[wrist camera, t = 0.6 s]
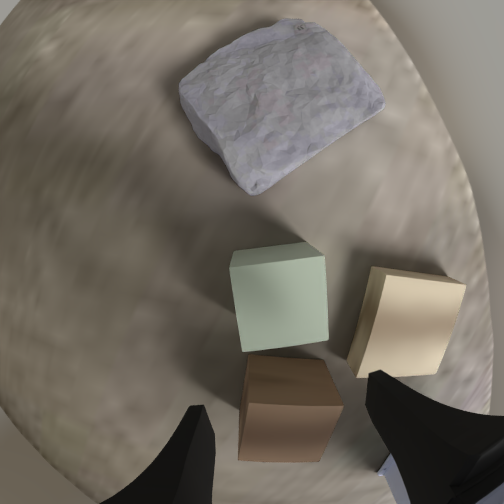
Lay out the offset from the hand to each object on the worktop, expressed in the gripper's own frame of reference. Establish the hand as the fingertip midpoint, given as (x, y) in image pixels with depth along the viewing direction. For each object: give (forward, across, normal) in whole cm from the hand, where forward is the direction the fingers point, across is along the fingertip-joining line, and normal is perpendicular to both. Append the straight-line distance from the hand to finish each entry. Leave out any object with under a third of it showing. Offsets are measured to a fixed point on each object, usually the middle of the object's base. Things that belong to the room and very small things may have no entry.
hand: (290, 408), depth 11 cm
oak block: (+10, -11, +3) cm, 15 cm away
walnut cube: (+10, 0, +7) cm, 12 cm away
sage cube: (+10, -1, -2) cm, 10 cm away
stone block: (+11, -3, -15) cm, 19 cm away
